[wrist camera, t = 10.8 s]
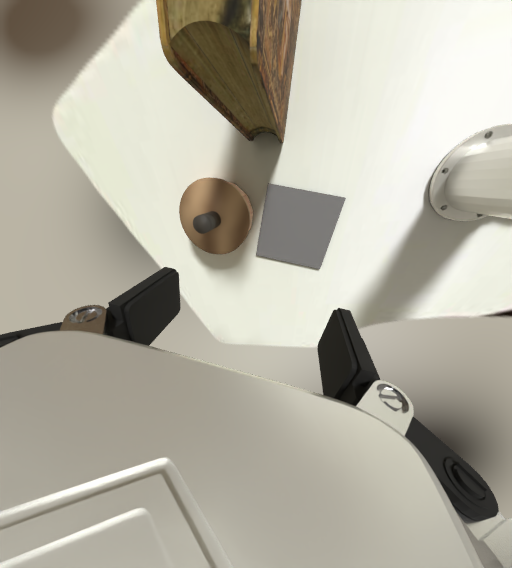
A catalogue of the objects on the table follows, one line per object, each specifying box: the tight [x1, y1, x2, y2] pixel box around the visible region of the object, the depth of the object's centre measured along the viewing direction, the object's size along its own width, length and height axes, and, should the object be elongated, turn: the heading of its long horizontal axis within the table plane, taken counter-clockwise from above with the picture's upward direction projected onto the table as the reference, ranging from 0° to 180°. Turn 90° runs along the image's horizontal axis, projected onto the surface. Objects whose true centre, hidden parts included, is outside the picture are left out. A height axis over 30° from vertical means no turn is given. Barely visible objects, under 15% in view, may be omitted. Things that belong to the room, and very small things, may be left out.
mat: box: [256, 183, 346, 269], centre depth 37 cm, size 14×14×1 cm
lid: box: [179, 178, 250, 254], centre depth 32 cm, size 13×13×6 cm
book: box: [156, 0, 301, 143], centre depth 17 cm, size 16×6×25 cm, turn 175°
